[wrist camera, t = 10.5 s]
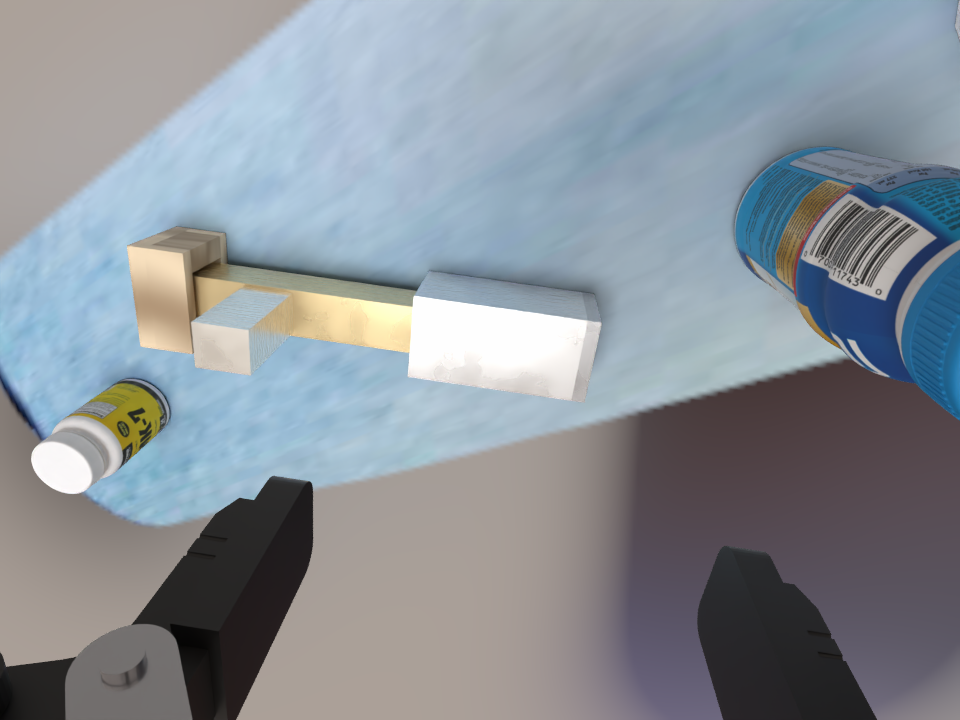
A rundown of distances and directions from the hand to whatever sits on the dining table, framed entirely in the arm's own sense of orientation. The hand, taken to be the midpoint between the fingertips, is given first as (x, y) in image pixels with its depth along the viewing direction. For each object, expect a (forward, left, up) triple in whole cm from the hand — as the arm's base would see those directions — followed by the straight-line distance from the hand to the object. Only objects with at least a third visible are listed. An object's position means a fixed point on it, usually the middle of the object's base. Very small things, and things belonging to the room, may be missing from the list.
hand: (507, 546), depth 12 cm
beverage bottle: (-3, +16, -28) cm, 33 cm away
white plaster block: (+6, -1, -28) cm, 29 cm away
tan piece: (+6, -12, -27) cm, 30 cm away
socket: (+6, -21, -28) cm, 36 cm away
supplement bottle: (+17, -27, -28) cm, 43 cm away
